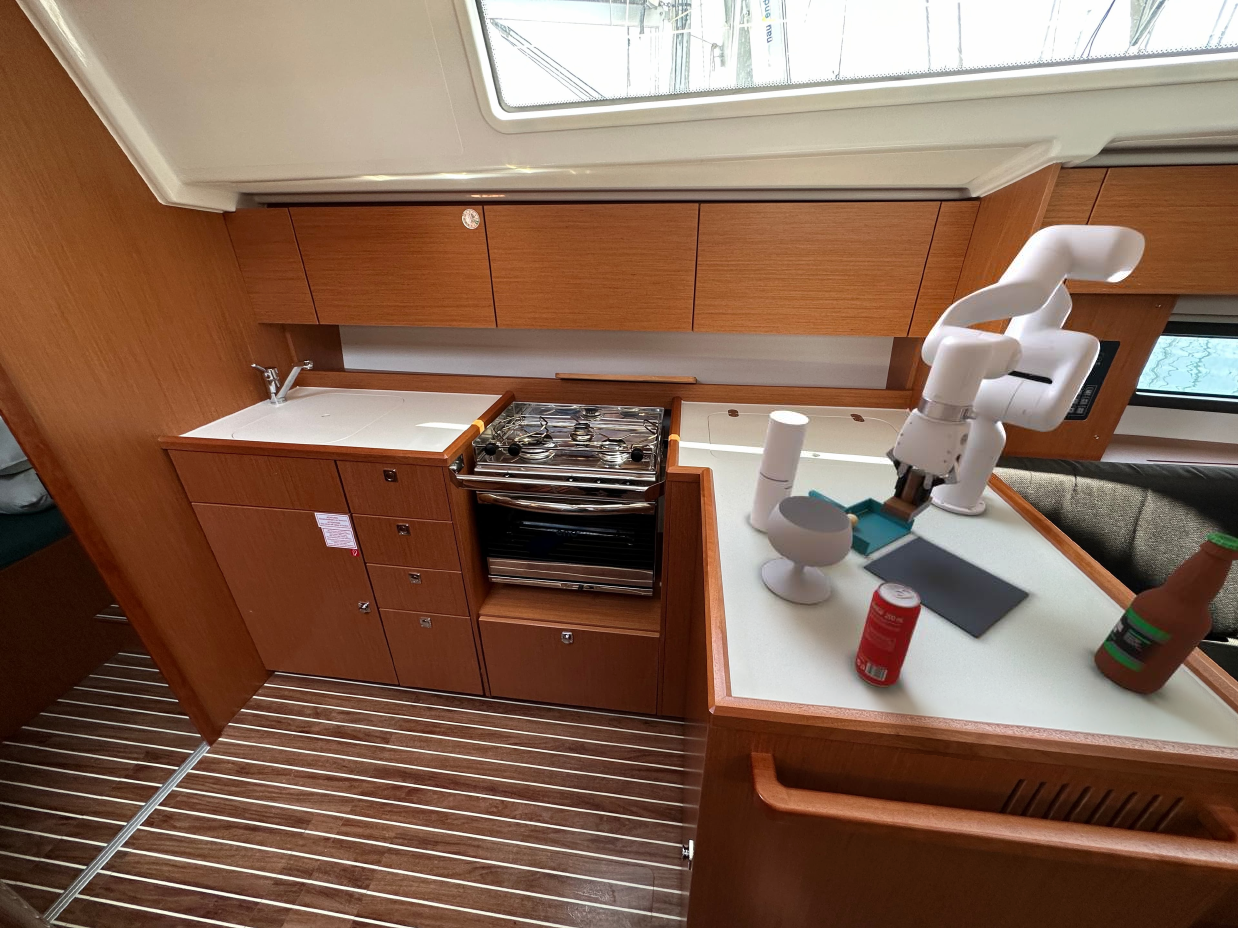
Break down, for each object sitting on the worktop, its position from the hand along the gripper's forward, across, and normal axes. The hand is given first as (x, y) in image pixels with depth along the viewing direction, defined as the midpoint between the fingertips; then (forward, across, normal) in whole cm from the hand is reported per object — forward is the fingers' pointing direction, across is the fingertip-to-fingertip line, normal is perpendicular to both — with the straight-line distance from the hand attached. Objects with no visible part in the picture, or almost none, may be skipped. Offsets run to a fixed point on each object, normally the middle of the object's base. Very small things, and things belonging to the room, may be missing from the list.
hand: (909, 498), depth 90 cm
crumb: (+11, +9, 0) cm, 14 cm away
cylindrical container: (+13, +19, +15) cm, 28 cm away
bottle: (+13, -35, -3) cm, 38 cm away
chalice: (+13, +3, +25) cm, 28 cm away
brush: (+2, 0, 0) cm, 2 cm away
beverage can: (+13, -16, +31) cm, 37 cm away
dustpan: (+13, +12, -2) cm, 17 cm away
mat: (+13, -10, 0) cm, 16 cm away
